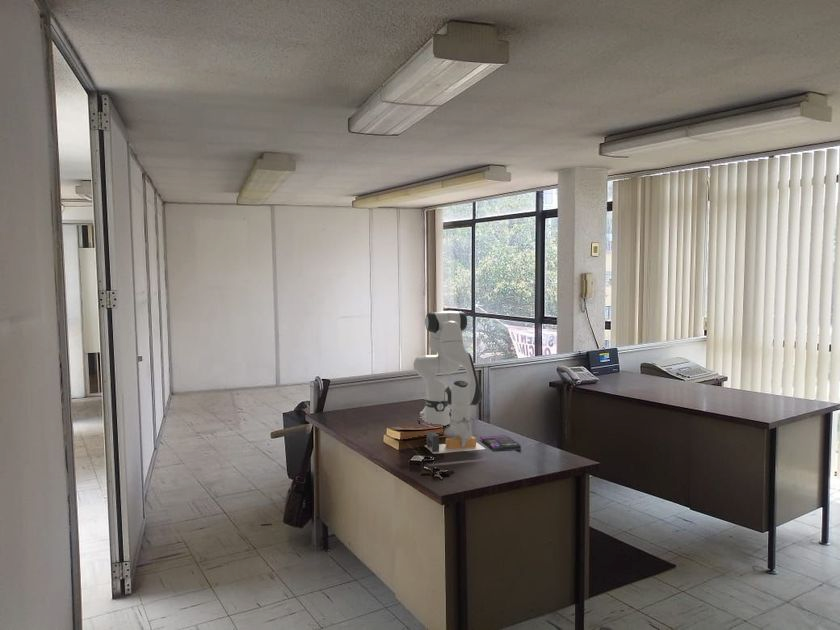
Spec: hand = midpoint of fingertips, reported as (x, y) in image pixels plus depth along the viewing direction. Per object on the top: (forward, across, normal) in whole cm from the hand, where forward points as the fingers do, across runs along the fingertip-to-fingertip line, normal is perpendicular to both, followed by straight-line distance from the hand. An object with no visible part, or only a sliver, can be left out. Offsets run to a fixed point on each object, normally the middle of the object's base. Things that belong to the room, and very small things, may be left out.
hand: (460, 444), depth 292 cm
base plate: (+2, 0, +3) cm, 4 cm away
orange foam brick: (+1, 0, 0) cm, 1 cm away
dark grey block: (+1, 0, +14) cm, 14 cm away
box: (+3, -2, -19) cm, 20 cm away
